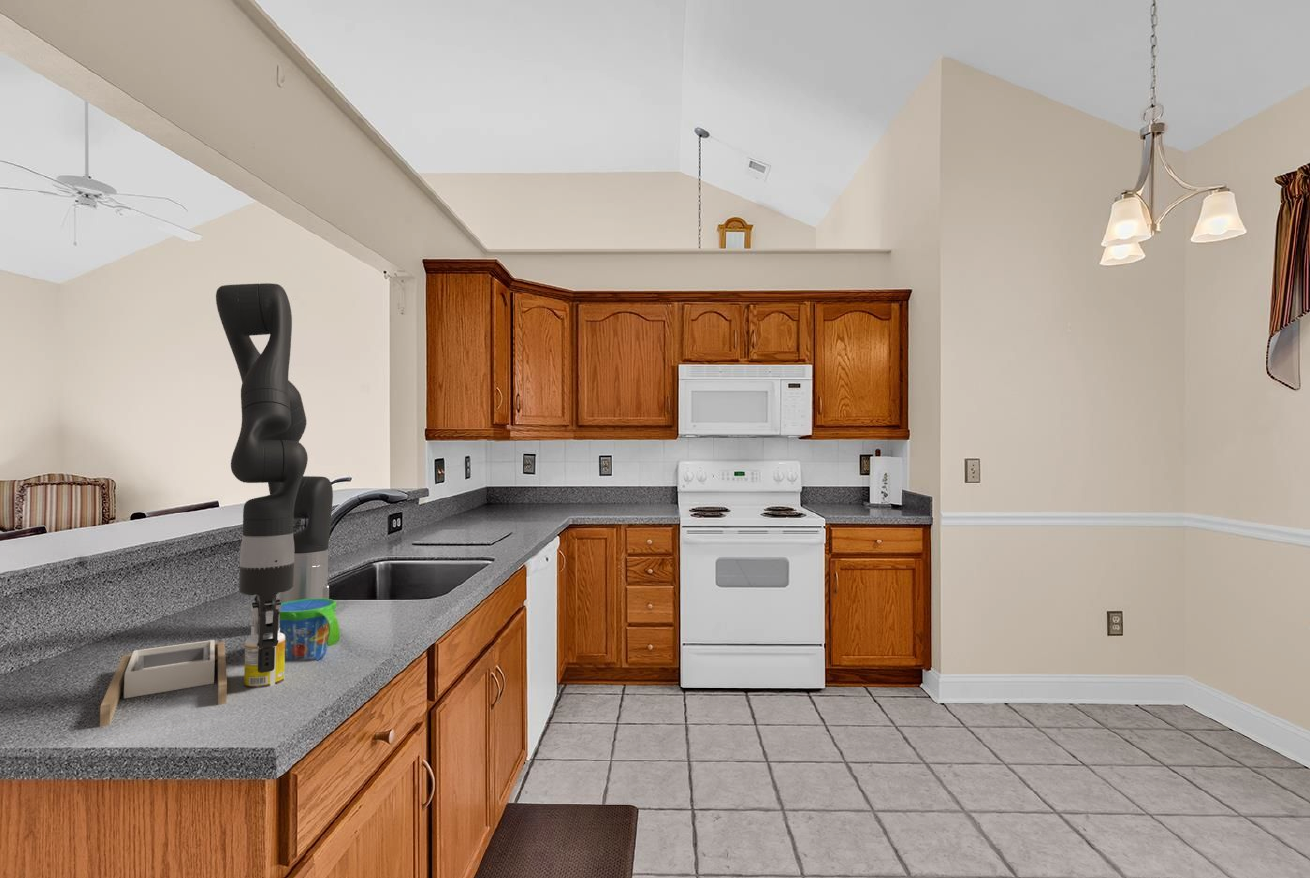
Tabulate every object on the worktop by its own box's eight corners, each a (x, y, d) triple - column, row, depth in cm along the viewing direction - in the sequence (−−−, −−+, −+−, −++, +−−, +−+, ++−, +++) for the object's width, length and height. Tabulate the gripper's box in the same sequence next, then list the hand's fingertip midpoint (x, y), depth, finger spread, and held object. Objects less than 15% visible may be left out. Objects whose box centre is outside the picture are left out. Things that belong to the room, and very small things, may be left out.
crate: (213, 660, 109) (214, 639, 109) (213, 683, 98) (214, 660, 98) (133, 672, 102) (133, 650, 102) (123, 698, 92) (124, 673, 92)
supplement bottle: (277, 678, 103) (278, 617, 104) (289, 686, 100) (291, 623, 100) (238, 687, 99) (240, 624, 99) (250, 697, 95) (252, 631, 96)
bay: (223, 663, 111) (224, 641, 111) (226, 711, 91) (227, 684, 91) (122, 679, 103) (122, 655, 103) (99, 735, 82) (100, 705, 82)
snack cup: (248, 660, 113) (250, 605, 113) (303, 645, 122) (305, 594, 122) (301, 675, 106) (303, 616, 106) (355, 657, 115) (357, 603, 115)
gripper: (299, 566, 96) (296, 674, 96) (289, 553, 108) (286, 649, 107) (241, 571, 92) (238, 684, 91) (238, 557, 103) (235, 657, 103)
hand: (264, 665), depth 99 cm, fingers closed on supplement bottle, 5 cm apart
